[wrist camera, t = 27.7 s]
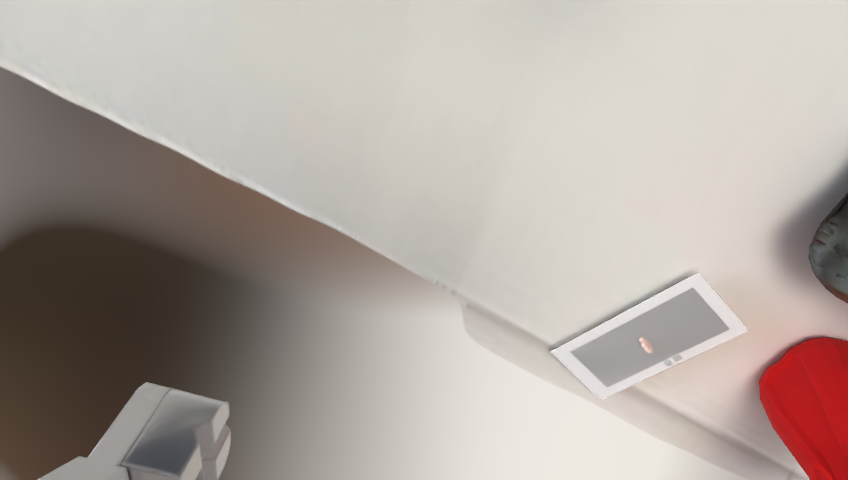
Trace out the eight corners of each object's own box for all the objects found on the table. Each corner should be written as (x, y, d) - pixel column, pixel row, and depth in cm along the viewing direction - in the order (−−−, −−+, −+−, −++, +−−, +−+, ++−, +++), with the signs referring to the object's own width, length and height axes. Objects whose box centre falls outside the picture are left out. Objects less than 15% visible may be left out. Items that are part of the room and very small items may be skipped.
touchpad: (549, 343, 58) (550, 360, 56) (695, 264, 51) (701, 280, 49) (600, 391, 60) (601, 408, 58) (745, 322, 53) (752, 339, 51)
